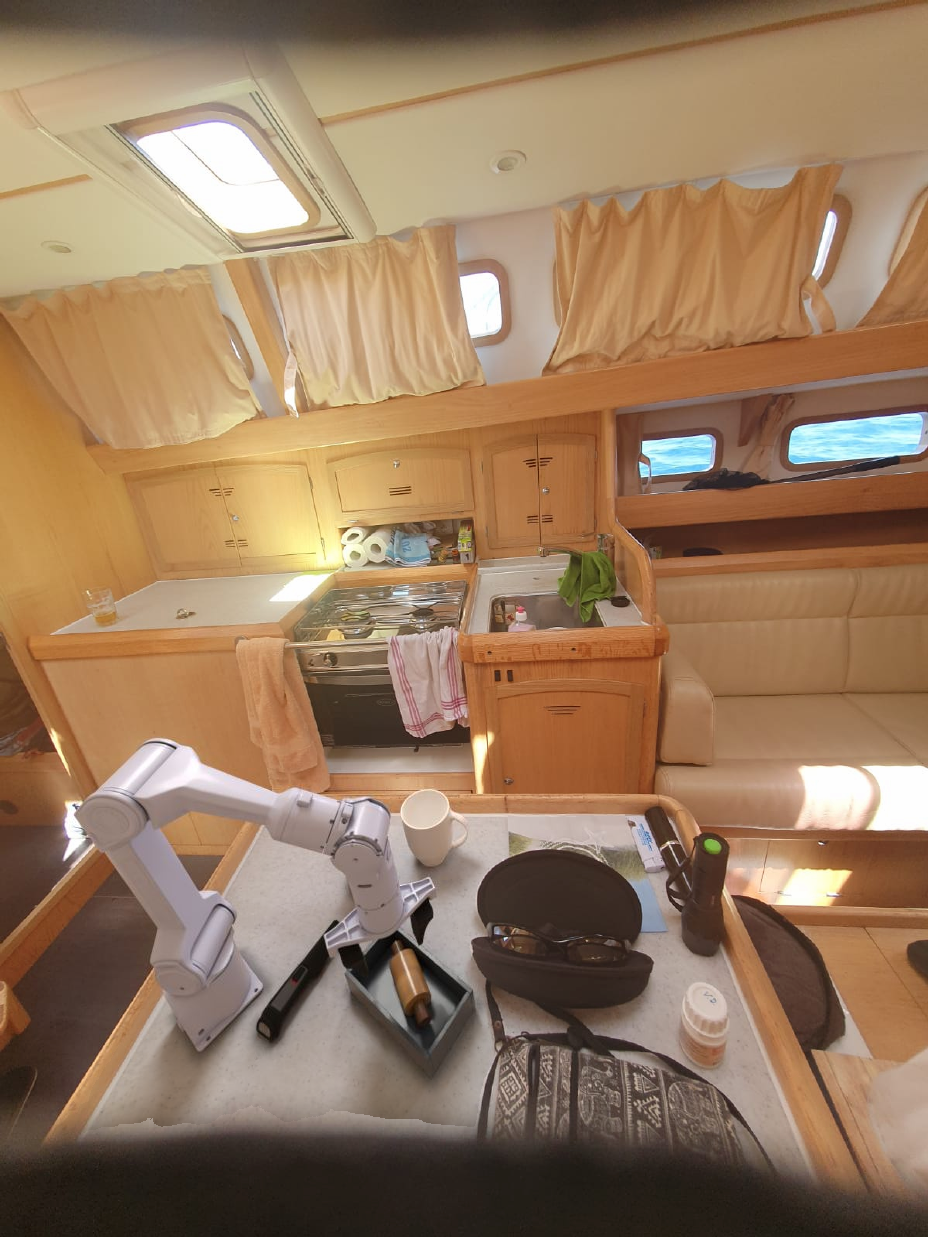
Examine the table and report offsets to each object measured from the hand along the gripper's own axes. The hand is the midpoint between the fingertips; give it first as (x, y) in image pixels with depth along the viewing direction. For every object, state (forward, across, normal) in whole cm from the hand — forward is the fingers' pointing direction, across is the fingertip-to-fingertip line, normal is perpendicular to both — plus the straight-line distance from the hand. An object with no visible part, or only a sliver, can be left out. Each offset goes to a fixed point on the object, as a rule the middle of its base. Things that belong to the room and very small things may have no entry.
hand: (392, 954), depth 61 cm
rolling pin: (+8, 0, +1) cm, 8 cm away
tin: (+9, -1, +2) cm, 9 cm away
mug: (+9, -14, -17) cm, 24 cm away
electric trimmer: (+9, +12, -9) cm, 18 cm away
